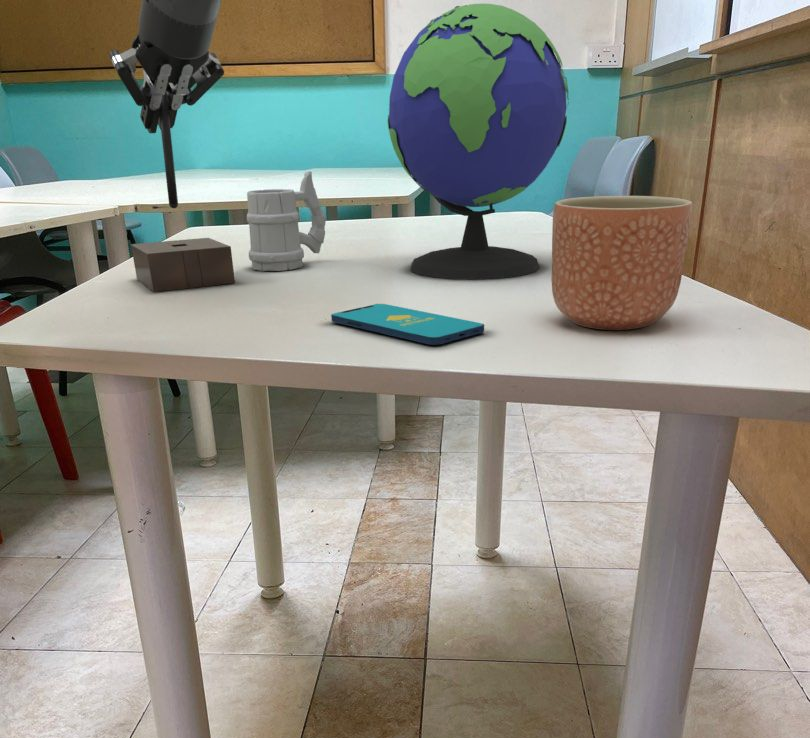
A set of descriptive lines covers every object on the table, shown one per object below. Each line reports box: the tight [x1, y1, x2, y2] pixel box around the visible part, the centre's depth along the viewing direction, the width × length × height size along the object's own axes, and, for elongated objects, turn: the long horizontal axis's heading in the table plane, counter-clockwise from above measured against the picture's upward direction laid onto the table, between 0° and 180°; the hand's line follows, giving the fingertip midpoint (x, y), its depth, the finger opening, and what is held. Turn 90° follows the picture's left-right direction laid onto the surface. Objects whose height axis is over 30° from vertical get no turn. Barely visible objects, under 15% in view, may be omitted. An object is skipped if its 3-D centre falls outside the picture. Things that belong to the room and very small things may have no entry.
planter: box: [551, 195, 693, 331], centre depth 77 cm, size 12×12×11 cm
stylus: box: [159, 91, 179, 209], centre depth 98 cm, size 1×1×13 cm
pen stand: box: [130, 237, 236, 293], centre depth 104 cm, size 10×10×4 cm
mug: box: [246, 170, 327, 272], centre depth 112 cm, size 8×12×12 cm, turn 125°
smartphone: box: [330, 303, 485, 346], centre depth 79 cm, size 7×1×15 cm
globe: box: [387, 3, 570, 280], centre depth 102 cm, size 22×22×30 cm
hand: (155, 127), depth 98 cm, fingers closed on stylus, 1 cm apart
